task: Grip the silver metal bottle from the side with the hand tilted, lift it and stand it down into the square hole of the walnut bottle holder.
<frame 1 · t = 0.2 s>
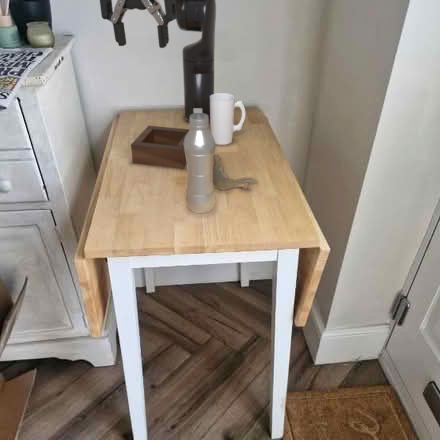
hand: (142, 46, 83), 29 cm above the table, tool pointing down, fingers open, 8 cm apart
jawbone: (233, 174, 107), on the table
bottle holder: (165, 155, 115), on the table
silver metal bottle: (200, 209, 94), on the table
mug: (227, 141, 123), on the table
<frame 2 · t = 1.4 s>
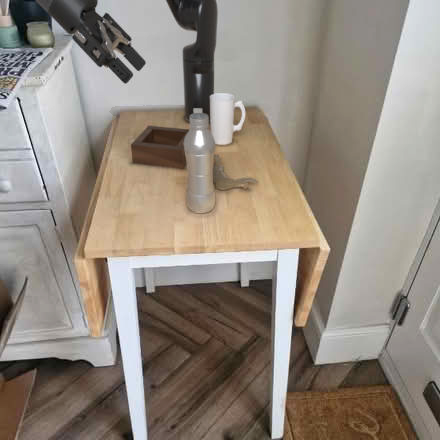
hand: (136, 73, 77), 27 cm above the table, tool tilted 45°, fingers open, 8 cm apart
nothing on the table moved.
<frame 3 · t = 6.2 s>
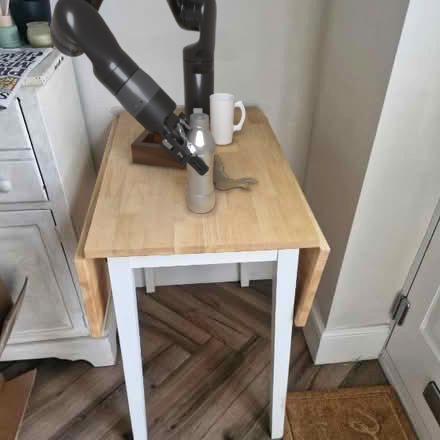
hand: (208, 165, 87), 10 cm above the table, tool tilted 45°, fingers closed on silver metal bottle, 6 cm apart
silver metal bottle: (200, 209, 94), on the table, touching gripper
everything else where it was.
when the fingers open (10 cm above the table, at t = 17.6 s): silver metal bottle stays where it is, resting in bottle holder.
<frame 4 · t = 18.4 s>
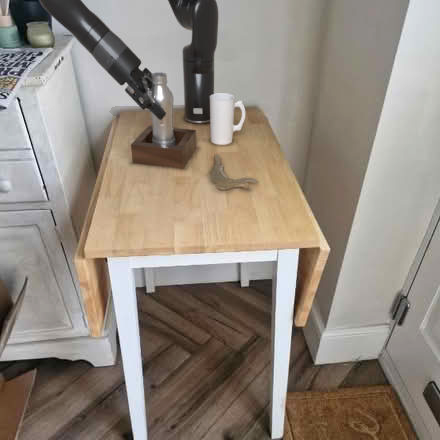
hand: (167, 111, 107), 12 cm above the table, tool tilted 45°, fingers open, 8 cm apart
silver metal bottle: (165, 156, 115), resting in bottle holder
everything else where it was.
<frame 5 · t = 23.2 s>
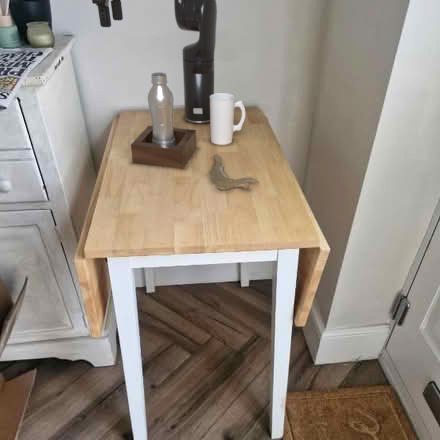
hand: (112, 23, 96), 30 cm above the table, tool pointing down, fingers open, 8 cm apart
nothing on the table moved.
at the end: silver metal bottle 0.3 cm off-centre in the bottle holder, point 0.0 cm above the bottle holder's base; silver metal bottle tilted 0°; the gripper is holding nothing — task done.
